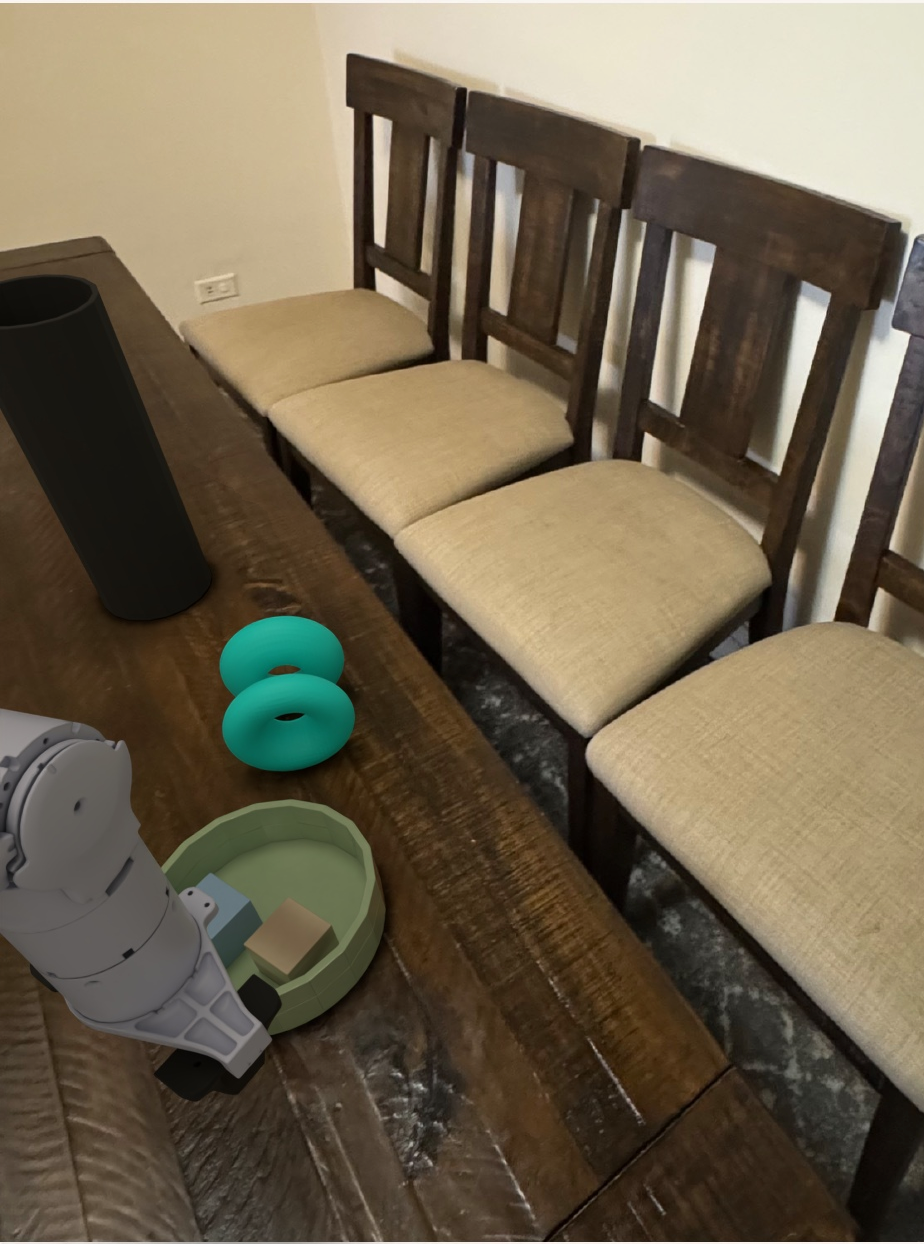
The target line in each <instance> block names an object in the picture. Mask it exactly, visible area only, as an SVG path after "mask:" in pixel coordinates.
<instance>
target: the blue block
mask: <svg viewBox="0 0 924 1244" xmlns="http://www.w3.org/2000/svg"><path fill="white" fill-rule="evenodd" d="M196 888H199V889H200V890H201V891H203V892H204V893H206V894H207V895H209V896H210V897H212V898H213V899H214V901H215V902H216V904H217V905H218V907H219V910H218V913H217V915H216V916H215V918H214V919H213V920H212V921H211V922H210V923H209V924H208V927H207V932H208V935H209V937H210V939H211V941H212V943H213V945H214V947H215V949H216V951H217V953H218V955H219V957H220V959H221V961H222V963H223V965H224V967H225V969H226V968H227V967H228V966H229V965H230V964H231V963H232V962H233V961H234V960H235V959H236V958H237V957H238V956H239V955H240V954H241V953H242V951H243V950H244V949H245V946H244V943H245V942H246V941H247V940H248V939H249V938H250V937H251V936H252V935H253V934H254V933H255V932H256V931H257V929H258V928H259V927H260V926H261V925H262V924H263V922H262V920H261V918H260V916H259V915H258V913H257V911H256V909H255V907H254V905H253V904H252V902H251V900H250V899H249V898H247V897H246V896H244V895H243V894H241V893H240V892H238V891H237V890H235V889H234V888H232V887H231V886H230V885H228V884H227V883H225V882H224V881H222V880H221V879H219V878H218V877H216V876H215V875H213V874H212V873H209V874H208V875H207V876H206V877H205V878H204V879H203V880H202V881H201V882H200V883H199V884H198V885H197V886H196Z"/></svg>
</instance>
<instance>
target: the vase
mask: <svg viewBox="0 0 924 1244" xmlns="http://www.w3.org/2000/svg"><path fill="white" fill-rule="evenodd" d="M0 412H1V413H2V415H3V417H4V419H5V421H6V423H7V424H8V426H9V429H10V430H11V432H12V434H13V435H14V438H15V439H16V441H17V443H18V445H19V447H20V449H21V451H22V453H23V454H24V456H25V458H26V460H27V462H28V464H29V466H30V468H31V469H32V471H33V473H34V476H35V477H36V479H37V481H38V483H39V485H40V487H41V488H42V491H43V493H44V495H45V496H46V498H47V500H48V501H49V504H50V506H51V508H52V509H53V511H54V514H55V515H56V517H57V518H58V520H59V523H60V524H61V526H62V528H63V530H64V533H65V534H66V536H67V537H68V540H69V541H70V543H71V545H72V547H73V549H74V550H75V553H76V555H77V556H78V558H79V560H80V562H81V564H82V566H83V568H84V570H85V572H86V573H87V575H88V577H89V580H90V581H91V583H92V585H93V587H94V588H95V591H96V593H97V594H98V597H99V598H100V599H101V603H103V605H104V608H105V609H107V611H109V612H110V613H111V614H112V615H113V616H115V617H118V618H122V619H125V620H129V621H152V620H157V619H161V618H166V617H167V618H168V617H170V616H172V615H175V614H177V613H179V612H182V611H184V610H186V609H188V608H189V607H190V606H192V605H193V604H194V603H196V602H197V601H199V600H200V599H202V597H203V596H204V594H205V593H206V592H207V591H208V589H209V588H210V585H211V580H212V576H213V574H212V572H211V570H210V567H209V565H208V561H207V560H206V556H205V554H204V552H203V549H202V546H201V545H200V542H199V539H198V537H197V535H196V532H195V529H194V527H193V524H192V522H191V519H190V517H189V514H188V512H187V508H186V507H185V504H184V501H183V500H182V497H181V494H180V492H179V489H178V487H177V484H176V481H175V479H174V477H173V474H172V472H171V470H170V467H169V464H168V461H167V459H166V456H165V454H164V452H163V449H162V446H161V444H160V442H159V438H158V436H157V434H156V432H155V429H154V426H153V424H152V421H151V419H150V416H149V414H148V411H147V408H146V406H145V404H144V401H143V399H142V395H141V394H140V391H139V389H138V386H137V383H136V381H135V379H134V375H133V374H132V371H131V369H130V366H129V363H128V361H127V359H126V356H125V354H124V351H123V349H122V345H121V344H120V341H119V339H118V336H117V333H116V331H115V328H114V326H113V323H112V321H111V319H110V316H109V314H108V311H107V308H106V306H105V304H104V301H103V298H102V296H101V294H100V291H99V288H98V286H97V284H96V283H94V282H92V281H91V280H88V279H86V278H85V277H80V276H76V275H70V274H54V273H53V274H49V273H48V274H47V273H45V274H44V273H43V274H34V275H26V276H25V275H24V276H18V277H13V278H9V279H5V280H4V279H3V280H0Z"/></svg>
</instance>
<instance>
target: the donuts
mask: <svg viewBox="0 0 924 1244" xmlns="http://www.w3.org/2000/svg"><path fill="white" fill-rule="evenodd" d="M283 666H292V667H296V668H298V669H299V670H297V671H295V672H292V673H284V674H278V675H277V674H272V673H270V672H271V671H272V670H273V669H276V668H278V667H283ZM344 666H345V654H344V650H343V646H342V644H341V642H340V641H339V639H338V638H337V636H336V635H335V634H334V633H333V632H332V630H330V629H328V628H327V627H326V626H324V624H321V623H320V622H317V621H315V620H313V619H309V618H306V617H302V616H296V615H295V616H293V615H279V616H278V615H277V616H271V617H265V618H263V619H259V620H256V621H254V622H251V623H249V624H247V625H245V626H244V627H242V628H241V629H240V630H238V631H237V632H236V633H235V634H234V635H232V637H231V638H230V639H229V640H228V641H227V643H226V644H225V645H224V647H223V650H222V652H221V655H220V658H219V674H220V677H221V680H222V682H223V684H224V686H225V687H226V689H227V690H228V692H230V694H231V695H232V696H234V699H233V700H232V701H231V702H230V703H229V705H228V707H227V709H226V711H225V713H224V715H223V719H222V725H221V729H222V732H221V733H222V737H223V741H224V742H225V745H226V747H227V749H228V750H229V751H230V753H231V754H232V755H233V756H234V757H235V758H237V759H238V760H239V761H241V762H242V763H244V764H246V765H248V766H250V767H253V768H256V769H258V770H259V769H260V770H264V771H270V772H271V771H272V772H290V771H291V772H293V771H298V770H303V769H307V768H310V767H313V766H316V765H319V764H321V763H323V762H324V761H326V760H328V759H330V758H331V757H333V756H334V755H335V754H337V753H338V752H339V751H340V750H341V749H342V748H343V747H344V746H345V745H346V744H347V742H348V740H349V739H350V737H351V735H352V733H353V731H354V729H355V721H356V713H355V708H354V705H353V702H352V701H351V699H350V697H349V695H348V694H347V693H346V692H345V691H344V690H343V689H342V688H341V687H340V686H339V685H338V684H337V683H338V682H339V680H340V678H341V676H342V674H343V670H344ZM288 714H303V715H302V716H300V717H299V718H295V719H292V720H280V719H276V718H278V717H280V716H283V715H288Z"/></svg>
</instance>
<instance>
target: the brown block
mask: <svg viewBox="0 0 924 1244" xmlns="http://www.w3.org/2000/svg"><path fill="white" fill-rule="evenodd" d="M338 945H339V941H338V939H337V937H336V934H335V932H334V930H333V927H332V925H331V924H329V923H328V922H326V921H325V920H323V919H322V918H320V917H319V916H317V915H316V914H314V913H313V912H311V911H310V910H308V909H307V908H305V907H304V906H302V905H301V904H299V903H298V902H296V901H295V900H293V899H292V898H290V897H288V898H287V899H286V900H285V901H284V902H283V903H282V904H281V905H280V906H279V907H278V909H277V910H276V911H275V912H274V913H273V914H272V915H271V916H270V917H269V918H268V919H267V920H266V921H265V922H264V923H263V924H262V925H261V926H260V927H259V928H258V929H257V931H256V932H255V933H254V934H253V935H252V936H251V937H250V938H249V939H248V940H247V941H246V942H245V943H244V946H245V948H246V949H247V951H248V953H249V954H250V956H251V958H252V959H253V961H254V963H255V964H256V966H257V968H258V969H259V971H260V972H262V973H263V974H264V975H266V976H267V977H269V978H270V979H271V980H273V981H274V982H276V983H277V984H278V985H280V986H282V985H284V984H286V983H288V982H290V981H292V980H295V979H297V978H299V977H301V976H303V975H305V974H306V973H307V972H308V971H310V970H311V969H312V968H313V967H314V966H315V965H316V964H318V963H319V962H320V961H321V960H322V959H323V958H325V957H326V956H327V955H328V954H329V953H330V952H331V951H333V950H334V949H335V948H336V947H337V946H338Z"/></svg>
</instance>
